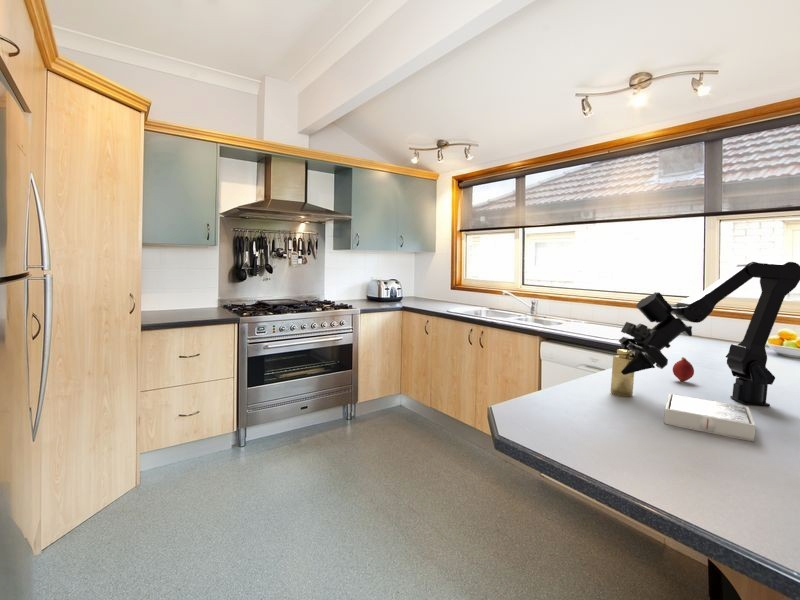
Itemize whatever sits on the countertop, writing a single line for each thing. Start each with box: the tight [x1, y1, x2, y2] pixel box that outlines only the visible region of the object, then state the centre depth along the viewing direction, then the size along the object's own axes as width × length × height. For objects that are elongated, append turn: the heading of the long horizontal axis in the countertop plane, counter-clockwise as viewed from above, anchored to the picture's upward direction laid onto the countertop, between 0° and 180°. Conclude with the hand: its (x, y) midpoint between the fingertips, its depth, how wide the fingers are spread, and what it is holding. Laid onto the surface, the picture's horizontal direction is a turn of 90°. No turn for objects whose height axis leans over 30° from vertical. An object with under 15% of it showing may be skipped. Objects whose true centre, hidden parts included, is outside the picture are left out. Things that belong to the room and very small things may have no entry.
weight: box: [609, 348, 635, 398], centre depth 121 cm, size 6×6×12 cm
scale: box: [663, 393, 756, 442], centre depth 100 cm, size 16×16×4 cm
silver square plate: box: [670, 394, 749, 424], centre depth 100 cm, size 14×14×1 cm
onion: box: [672, 356, 695, 383], centre depth 139 cm, size 6×6×8 cm
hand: (618, 370), depth 122 cm, fingers closed on weight, 6 cm apart
